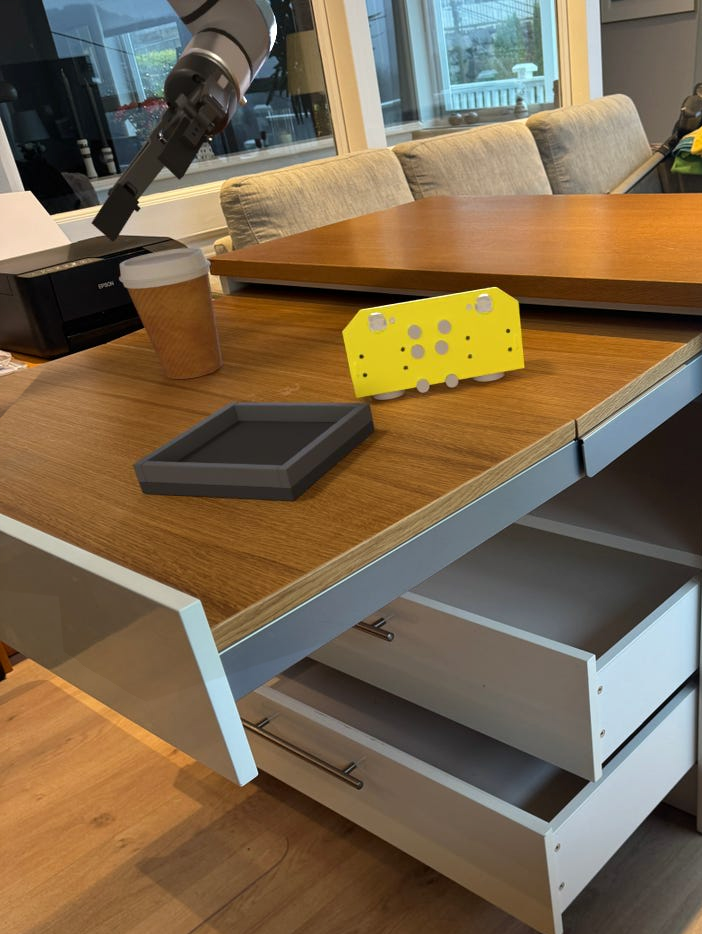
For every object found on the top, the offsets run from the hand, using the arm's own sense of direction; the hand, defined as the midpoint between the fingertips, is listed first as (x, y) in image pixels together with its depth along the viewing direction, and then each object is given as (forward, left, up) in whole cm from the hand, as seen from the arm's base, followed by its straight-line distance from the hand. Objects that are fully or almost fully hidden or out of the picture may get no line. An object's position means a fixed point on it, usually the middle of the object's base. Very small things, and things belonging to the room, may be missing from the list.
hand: (135, 201), depth 93 cm
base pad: (+26, -25, -17) cm, 40 cm away
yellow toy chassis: (+34, -6, -17) cm, 39 cm away
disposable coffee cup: (+2, -1, -17) cm, 18 cm away
